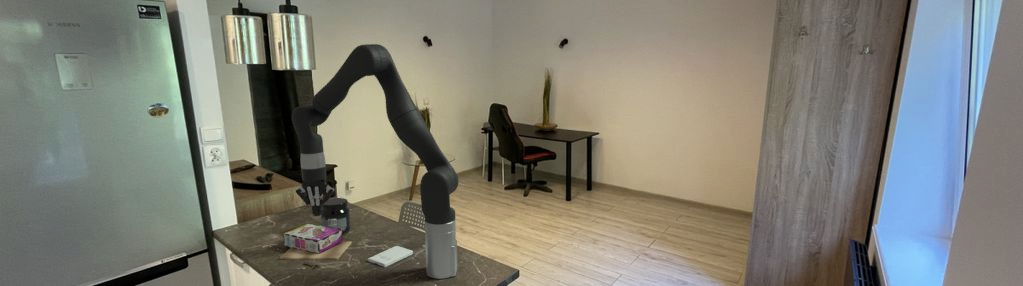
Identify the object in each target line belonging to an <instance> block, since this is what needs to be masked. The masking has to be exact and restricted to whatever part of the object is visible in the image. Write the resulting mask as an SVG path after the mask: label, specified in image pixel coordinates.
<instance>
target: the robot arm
mask: <svg viewBox="0 0 1023 286" xmlns="http://www.w3.org/2000/svg"><path fill="white" fill-rule="evenodd" d="M397 68H398V67H396V63H395V62H394V59H393V57H392V55H391V53H390V52H389V50H388V48H386V47H385V46H384V45H382V44H377V43H375V44H374V43H373V44H372V43H371V44H370V43H369V44H368V43H367V44H360V45H358V46H356V47H355V48H354V49H353V50H352V51H351V52H350V53H349V55H348V56H347V58H346V59H345V61H344V62H343V64H342V65H341V66H340V68H339V69H338V70H337V72H336V73H335V74H334V75H333V77H332V78H331V79H330V80H328V82H327V83H326V84H325V85H324V86H323V87H321V89H320V90H319V91H318V92H316V94H315V95H314V96H313V97H312V100H311V103H312V104H310V105H302V106H296V107H295V108H294V110H293V111H292V113H291V122H292V125H293V128H294V130H295V133H296V135H297V138H298V140H299V149H300V158H299V159H300V168H301V169H300V170H301V172H300V173H301V179H302V183H301V187H299V188H298V189H296V190H295V193H296V194H297V196H299V197H300V198H301V200H302V201H303V202H304V203H305V204H306V205H310V206H311V211H312V213H311V214H312V215H313V216H314V217H321V213H322V204H324V203H325V202H327V201H328V199H331V197H332V195H333V194H334V192H335V191H336V188H335V187H331V186H330V185H329V182H328V180H327V168H326V165H327V162H326V158H325V153H324V140H323V137H322V135H321V134H319V133H314V132H313V129H312V127H318V126H320V125H322V124H324V123H325V122H326V121H327V120H328V119H329V117H330V115H331V113H332V112H333V110H334V109H336V108H337V107H338V106H339V105H341V103H342V102H343V101H344V100H345V99H346V98H347V96H348V94H349V91H350V89H351V88H352V87H353V85H354V84H356V83H357V82H358V81H360V80H361V79H363V78H365V77H371V76H374V77H375V79H376V80H377V82H378V84H379V85H380V87H381V89H382V91H383V94H384V100H385V111H386V116H387V117H386V118H387V119H388V121H389V124H390V126H391V127H392V129H393V130H394V133H395V135H396V136H397V138H398V139H399V140H400V141H401V142H402V143H403V144H404V145H405V146H406V147H408V148H409V149H410V150H411V151H412V152H413V153H415V155H416V156H418V157H417V158H419V159H420V160H421V162H422V164H423V165H424V168H425V169H426V171H427V172H425V173H424V174H423V175H422V177H421V180H420V185H419V188H420V192H419V193H420V201H421V202H420V203H421V211H422V214H423V215H424V239H425V269H426V272H425V273H426V275H427V276H428V277H429V278H432V279H436V280H437V279H448V278H451V277H456V275H457V271H458V240H457V237H456V234H457V232H456V230H457V229H456V209H454V208H453V207H451V203H450V202H451V199H450V198H451V197H450V195H452V194H453V193H454V192H455V191H456V190H457V189H458V186H459V177H458V174H457V171H456V170H455V168H454V167H453V166H452V164H451V163H450V161H449V160H448V158H447V157H446V155H445V154H444V153H443V151H442V150H441V148H440V146H439V145H438V143H437V141H436V139H435V137H434V136H433V134H432V133H431V131H430V129H429V126H428V125H427V124H426V122H425V120H424V117H423V116H422V114H421V112H420V111H419V109H418V107H417V105H416V104H415V102H414V100H413V99H412V97H411V95H410V93H409V91H408V89H407V88H406V85H405V84H404V82H403V80H402V78H401V76H400V73H399V71H398V69H397ZM325 192H326V194H325V195H324V193H325Z"/></svg>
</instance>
